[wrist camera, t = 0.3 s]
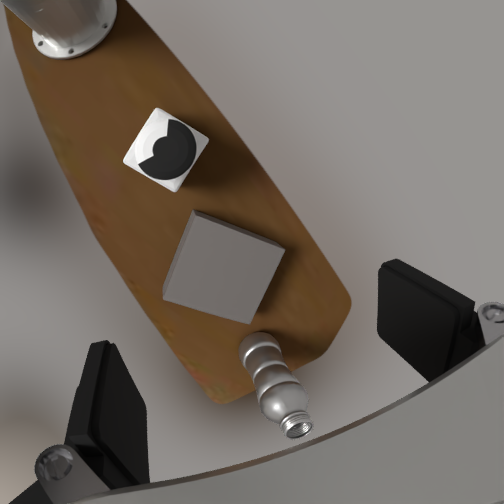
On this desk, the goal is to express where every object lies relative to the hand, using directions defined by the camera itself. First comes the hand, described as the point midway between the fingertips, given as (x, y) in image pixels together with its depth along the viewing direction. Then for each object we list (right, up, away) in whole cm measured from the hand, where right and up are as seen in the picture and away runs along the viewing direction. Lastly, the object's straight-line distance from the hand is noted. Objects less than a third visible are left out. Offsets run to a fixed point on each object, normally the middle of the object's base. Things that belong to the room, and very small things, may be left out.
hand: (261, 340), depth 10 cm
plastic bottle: (0, -12, +42) cm, 44 cm away
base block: (-5, +1, +36) cm, 36 cm away
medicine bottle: (-12, +16, +29) cm, 35 cm away
